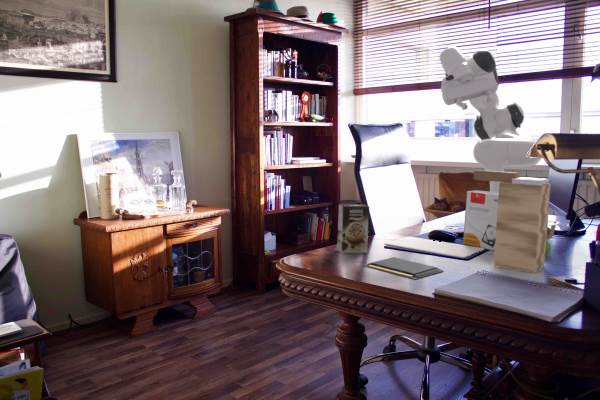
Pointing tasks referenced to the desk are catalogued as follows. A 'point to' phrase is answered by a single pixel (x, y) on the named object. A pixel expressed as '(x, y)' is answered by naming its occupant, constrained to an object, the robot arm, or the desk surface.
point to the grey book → (404, 268)
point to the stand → (521, 226)
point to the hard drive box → (481, 219)
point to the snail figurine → (549, 235)
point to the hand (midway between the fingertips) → (477, 105)
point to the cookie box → (353, 228)
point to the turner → (508, 177)
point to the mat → (435, 247)
